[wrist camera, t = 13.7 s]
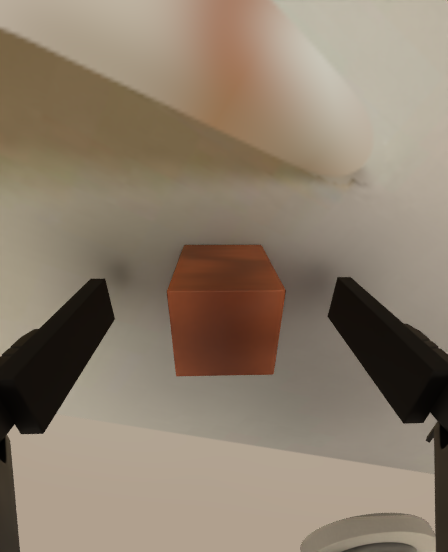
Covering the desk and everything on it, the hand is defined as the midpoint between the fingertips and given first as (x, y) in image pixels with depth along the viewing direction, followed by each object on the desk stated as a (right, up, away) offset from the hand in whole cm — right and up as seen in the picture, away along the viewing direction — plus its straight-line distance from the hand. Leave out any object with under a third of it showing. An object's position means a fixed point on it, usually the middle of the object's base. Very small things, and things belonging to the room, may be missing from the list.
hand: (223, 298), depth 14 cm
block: (0, +1, +3) cm, 3 cm away
